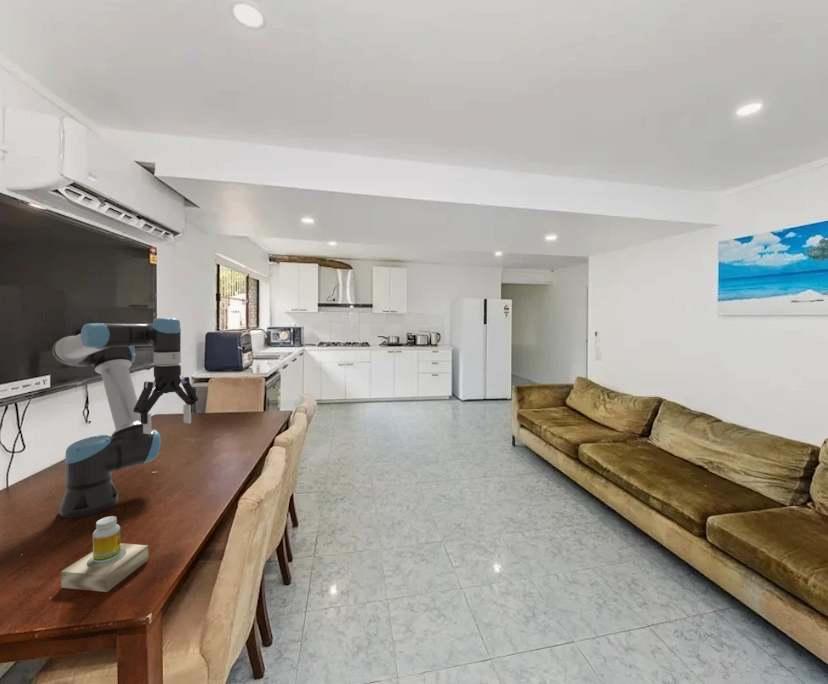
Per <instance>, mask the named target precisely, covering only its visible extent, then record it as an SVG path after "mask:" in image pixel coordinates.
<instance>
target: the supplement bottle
mask: <svg viewBox="0 0 828 684" xmlns="http://www.w3.org/2000/svg"><path fill="white" fill-rule="evenodd" d="M117 518H118V517H117V516H115V515H110V516H105V517H102V518H101V519H99V520H97V521H96V522H95V528H96V529H95V530H94V531H93V532H92V552H93V560H94V562H97V563H103V562H107V561H110V560H112V559H114V558H116V557H117V556H118V555H119V554H120V551H121V548H120V543H121V526H120V524H118V523H117V522H118V519H117Z"/></svg>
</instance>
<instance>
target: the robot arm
mask: <svg viewBox="0 0 828 684" xmlns="http://www.w3.org/2000/svg"><path fill="white" fill-rule="evenodd" d="M181 331H182V328H181V320H179V319H178V318H169V317H168V318H167V317H166V318H165V317H164V318H160V317H159V318H158V317H155V318H154V319H153V321H152V323H103V322H102V323H101V322H95V323H94V322H93V323H85V324H84V325H83V326H82V328H81V330H80V333H79V334H77V335H68V336H64V337H62V338H60V339H58V340H57V341H56V342H55V343H54V345H53V346H52V349H51V351H52V354H53V357H54V358H55V359H56V361H59V362H60V363H62V364H64V365H67V366H70V367H71V366H72V367H93V368H94V371H95V373H97V374H100V375H101V379H102V383H103V386H104V389H105V393H106V394H105V395H106V397H107V401H108V405H109V409H110V413H111V417H112V421H113V424H114V428H115V430H114V431H113V432H112V434H111V436H110V435H107V434H103V435H101V434H100V435H94V436H90V437H85V438H83V439H80V440H78V441H75V442H73V443H72V444H70V445H68V447H67V448H66V449H65V456H64V457H65V459H64V463H65V492H64V495H63V498H62V500H61V503H60V505H59V508H58V509H59V510H58V511H59V516H60V517H62V518H64V519H65V518H66V519H75V518H84V517H89V516H92V515H93V516H94V515H96V514H98V513H102V512H104V511H107V510H109V509H111V508H112V507H114V506H116V505H117V504H118V502H119V493H118V492H117V489H116V488H115V485H114V483H113V481H112V473H113V472H116V471H119V470H120V471H121V470H124V469H128V468H131V467H136V466H139V465H144V464H145V463H146V464H147V463H150V462H152V461H154V460H155V459H157V457H158V456H159V453H160V450H161V444H162V443H161V442H162V441H161V434H160V433H159V431H158V429H153V428H152V413H151V412H150V411H151V409H152V408H153V407H154V405H156V402H157V401H158V400H159V398H160V397H161V396H163V395H164V394H169V393H175V394H176V395H177V396H178V397H179V398H180V399H181V400H182V401H183V402H184V403H183V406H182V407H183V416H182V417H183V423H184V424H191V423H192V413H193V409H194V407H193V405H195V404H196V402H198V400H199V397H198V396H197V394H196V392H195V390H194V388H193V386H192V384H191V382H190V377H189V376H181V375H182V365H180V364H181V361H182V359H181V357H182V356H181V352H182V351H181V345H182V344H181V340H182V339H181V333H182V332H181ZM152 346H153V351H152V352H153V355H152V357H153V359H152V360H153V361H152V362H153V365H154V366H153V377H154V380H153V381H144V382H143V388H142V391H141V393H140V395H139V397H138V398H137V394H136V391H135V387H134V383H133V380H132V379H133V378H132V377H131V373H130V368H131V367H132V365H133V363H134V362H135V360H136V353H135V352H136V349H135V347H152ZM180 384H181V385H182V387H183V388H182V387H181V386H180ZM183 389H184V390H183Z"/></svg>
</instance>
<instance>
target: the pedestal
mask: <svg viewBox="0 0 828 684" xmlns="http://www.w3.org/2000/svg"><path fill="white" fill-rule="evenodd" d="M120 548H121V551H120V554H119V555H118V556H117V557H116V558H114V559H112V560H110V561H107V562H103V563H97V562H94V560H93V551H91V552H89V553H88V554H87V555H85V556H83V557H82V558H80V559H78V560H77V561H75V562H74V563H72V564H71V565H68V566H67V567H66V568H64V569H63V570H61V571H60V583H61V585H60V586H61V589H62V588H63V589H71V590H72V589H73V590H83V591H94V592H101V593H102V592H103V593H107V592H109V591H111V589H113V588H115V587H116V585H118V584H120V583H121V582H122V581H123V580H125V579H126V578H127V577H129V575H131V574H132V573H134V572H135V571H136V570H137V569H139V568H140V567H142V565H144V564H145V563H147V562H148V561H149V545H148V544H137V543H136V544H135V543H121V542H120Z"/></svg>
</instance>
